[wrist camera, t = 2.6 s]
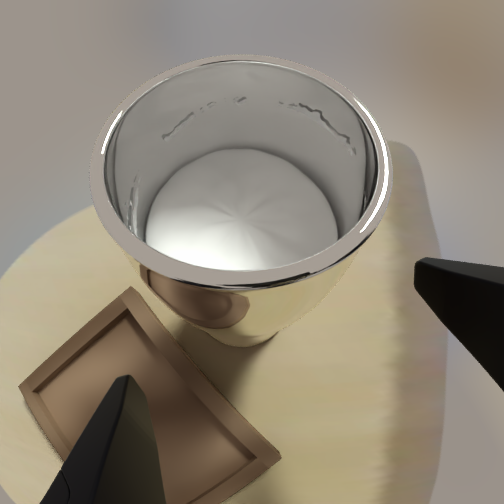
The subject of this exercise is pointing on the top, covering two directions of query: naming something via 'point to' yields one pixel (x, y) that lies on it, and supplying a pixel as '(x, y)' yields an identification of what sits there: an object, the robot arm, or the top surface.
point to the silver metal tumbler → (241, 190)
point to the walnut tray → (150, 402)
